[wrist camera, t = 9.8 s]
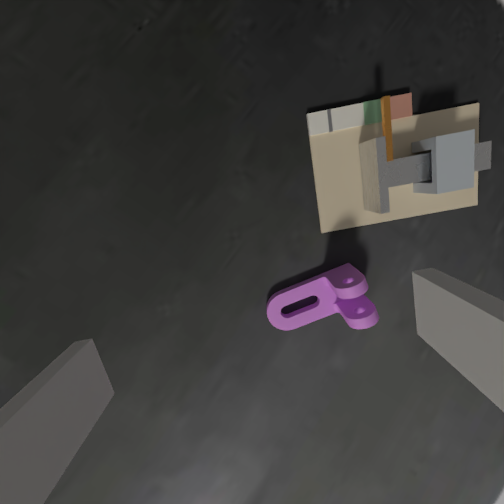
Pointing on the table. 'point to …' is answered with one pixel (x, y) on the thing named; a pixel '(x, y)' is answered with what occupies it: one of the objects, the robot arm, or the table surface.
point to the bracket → (325, 300)
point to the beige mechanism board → (404, 144)
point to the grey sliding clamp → (398, 165)
